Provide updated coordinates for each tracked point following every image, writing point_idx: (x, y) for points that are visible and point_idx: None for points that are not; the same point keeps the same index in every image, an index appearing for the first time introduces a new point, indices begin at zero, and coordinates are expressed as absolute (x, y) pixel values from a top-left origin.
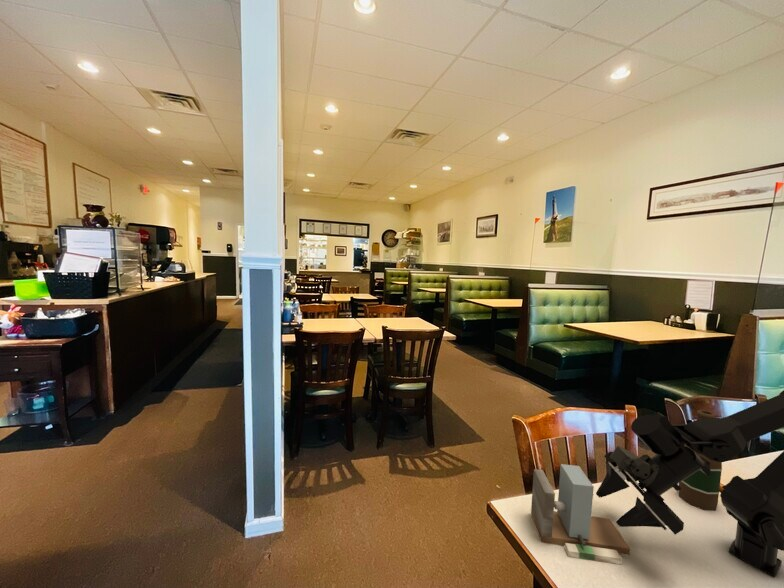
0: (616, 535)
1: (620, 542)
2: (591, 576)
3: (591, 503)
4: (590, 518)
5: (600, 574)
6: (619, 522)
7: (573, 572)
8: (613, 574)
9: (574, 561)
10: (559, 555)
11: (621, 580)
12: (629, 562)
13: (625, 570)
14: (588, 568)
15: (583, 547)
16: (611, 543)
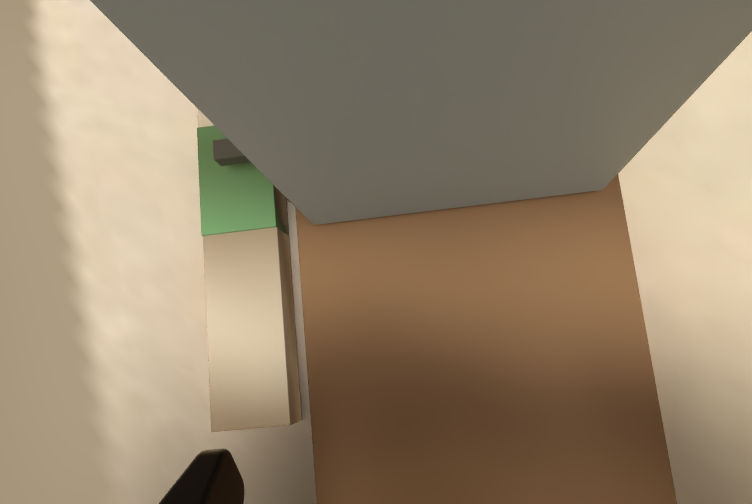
0: (448, 498)
1: (367, 496)
2: (95, 184)
3: (158, 56)
4: (255, 159)
5: (119, 246)
6: (181, 483)
7: (102, 85)
8: (136, 333)
9: (183, 110)
10: None
11: (101, 368)
12: (262, 501)
13: (185, 434)
14: (149, 184)
15: (247, 168)
16: (334, 407)
